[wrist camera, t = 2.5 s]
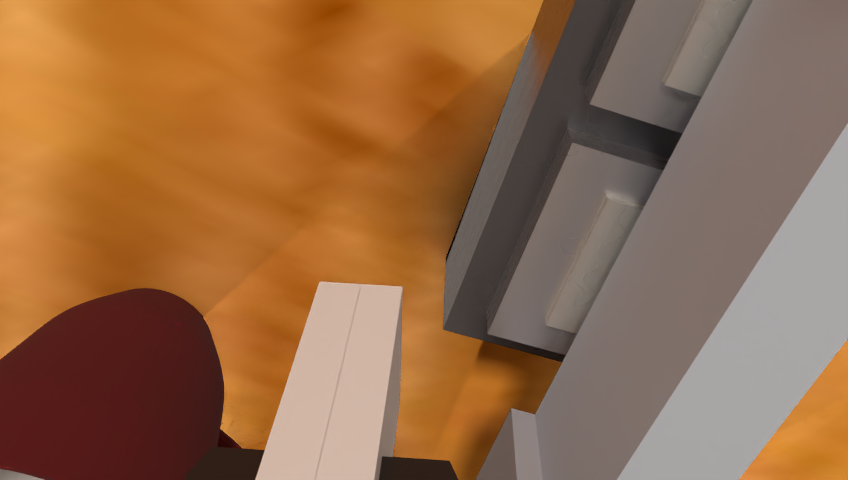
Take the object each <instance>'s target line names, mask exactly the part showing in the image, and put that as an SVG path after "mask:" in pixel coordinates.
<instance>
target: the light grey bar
mask: <svg viewBox="0 0 848 480" xmlns="http://www.w3.org/2000/svg"><path fill="white" fill-rule="evenodd" d="M847 339H848V0H753V1H752V3H751V5H750V7H749V9H748V11H747V13H746V15H745V16H744V18H743V20H742V22H741V24H740V26H739V28H738V30H737V32H736V34H735V35H734V37H733V39H732V41H731V43H730V45H729V47H728V49H727V51H726V53H725V54H724V56H723V58H722V60H721V62H720V64H719V66H718V68H717V70H716V72H715V73H714V75H713V77H712V79H711V81H710V83H709V85H708V87H707V89H706V91H705V92H704V94H703V96H702V98H701V100H700V102H699V104H698V106H697V108H696V110H695V111H694V113H693V115H692V117H691V119H690V121H689V123H688V125H687V127H686V129H685V130H684V132H683V134H682V136H681V138H680V140H679V142H678V144H677V146H676V148H675V149H674V151H673V153H672V155H671V157H670V159H669V161H668V163H667V165H666V167H665V168H664V170H663V172H662V174H661V176H660V178H659V180H658V182H657V184H656V186H655V187H654V189H653V191H652V193H651V195H650V197H649V199H648V201H647V203H646V205H645V206H644V208H643V210H642V212H641V214H640V216H639V218H638V220H637V222H636V224H635V225H634V227H633V229H632V231H631V233H630V235H629V237H628V239H627V241H626V243H625V244H624V246H623V248H622V250H621V252H620V254H619V256H618V258H617V260H616V262H615V263H614V265H613V267H612V269H611V271H610V273H609V275H608V277H607V279H606V281H605V282H604V284H603V286H602V288H601V290H600V292H599V294H598V296H597V298H596V300H595V301H594V303H593V305H592V307H591V309H590V311H589V313H588V315H587V317H586V319H585V320H584V322H583V324H582V326H581V328H580V330H579V332H578V334H577V336H576V338H575V339H574V341H573V343H572V345H571V347H570V349H569V351H568V353H567V355H566V357H565V358H564V360H563V362H562V364H561V366H560V368H559V370H558V372H557V374H556V376H555V377H554V379H553V381H552V383H551V385H550V387H549V389H548V391H547V393H546V395H545V396H544V398H543V400H542V402H541V404H540V406H539V408H538V410H537V412H536V414H532V413H528V412H524V411H520V410H517V409H513V408H511V410H510V412H509V414H508V416H507V418H506V420H505V422H504V424H503V426H502V428H501V430H500V432H499V434H498V436H497V438H496V440H495V442H494V444H493V446H492V448H491V450H490V452H489V454H488V456H487V458H486V460H485V462H484V464H483V466H482V468H481V470H480V472H479V474H478V476H477V478H476V480H739V479H740V477H741V476H742V475H743V473H744V472H745V471H746V469H747V468H748V467H749V466H750V464H751V463H752V462H753V460H754V459H755V458H756V457H757V455H758V454H759V453H760V451H761V450H762V449H763V448H764V446H765V445H766V444H767V442H768V441H769V440H770V439H771V437H772V436H773V435H774V433H775V432H776V431H777V429H778V428H779V427H780V426H781V424H782V423H783V422H784V420H785V419H786V418H787V417H788V415H789V414H790V413H791V411H792V410H793V409H794V408H795V406H796V405H797V404H798V402H799V401H800V400H801V398H802V397H803V396H804V395H805V393H806V392H807V391H808V389H809V388H810V387H811V386H812V384H813V383H814V382H815V380H816V379H817V378H818V377H819V375H820V374H821V373H822V371H823V370H824V369H825V367H826V366H827V365H828V364H829V362H830V361H831V360H832V358H833V357H834V356H835V355H836V353H837V352H838V351H839V349H840V348H841V347H842V346H843V344H844V343H845V342H846V340H847Z"/></svg>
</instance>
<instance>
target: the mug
mask: <svg viewBox="0 0 848 480" xmlns="http://www.w3.org/2000/svg"><path fill="white" fill-rule="evenodd" d="M223 404H224V381H223V374H222V369H221V365H220V361H219V357H218V354H217V351H216V348H215V345H214V341H213V338H212V335H211V332H210V330H209V327H208V325H207V323H206V321H205V320H204V319H203V317H202V316H201V314H200V313H199V312H198V311H197V310H196V309H195V308H194V307H193V306H192V305H191V304H189V303H188V302H186V301H185V300H184V299H182V298H180V297H178V296H176V295H174V294H171V293H169V292H165V291H162V290H157V289H147V288H143V289H132V290H128V291H124V292H120V293H116V294H112V295H108V296H104V297H100V298H97V299H94V300H91V301H88V302H85V303H82V304H80V305H77V306H75V307H73V308H70V309H68V310H66V311H65V312H63V313H61V314H59V315H58V316H56V317H55V318H53V319H52V320H50V321H49V322H47V323H46V324H45V325H43V326H42V327H41V328H40V329H38V330H37V331H36V332H34V333H33V334H32V335H31V336H29V337H28V338H27V339H26V340H24V341H23V342H22V343H21V344H19V345H18V346H17V347H16V348H14V349H13V350H12V351H11V352H9V353H8V354H7V355H6V356H4V357H3V358H2V359H0V480H185V477H186V475H187V473H188V472H189V471H190V470H191V469H192V468H193V467H194V466H195V465H196V464H197V462H198V461H199V460H200V459H201V458H202V457H203V456H204V455H205V454H206V453H207V452H208V451H209V450H210V449H211V448H212V447H225V448H240V449H242V448H241V447H240V446H239V445H238V444H237V443H236V442H235V441H234V440H233V439H232V438H230V437H229V436H228V435H227V434H225V433H224V432H223V431H222V430H220V426H221V419H222V413H223Z"/></svg>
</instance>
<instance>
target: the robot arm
mask: <svg viewBox="0 0 848 480" xmlns="http://www.w3.org/2000/svg"><path fill="white" fill-rule="evenodd" d="M402 291H403V287H400V286H383V285H367V284H350V283H334V282H319V285H318V288H317V291H316V294H315V297H314V301H313V304H312V307H311V310H310V313H309V316H308V319H307V322H306V325H305V328H304V331H303V334H302V337H301V341H300V344H299V347H298V350H297V353H296V356H295V359H294V362H293V365H292V368H291V371H290V374H289V377H288V381H287V384H286V387H285V390H284V393H283V396H282V399H281V402H280V405H279V408H278V411H277V414H276V417H275V421H274V424H273V427H272V430H271V433H270V436H269V439H268V442H267V445H266V448H265V450H254V449H240V448H225V447H212V448H211V449H210V450H209V451H208V452H207V453H206V454H205V455H204V456H203V457H202V458H201V459H200V460H199V461H198V462H197V464H196V465H195V466H194V467H193V468H192V469H191V470H190V471H189V472H188V473H187V475H186V477H185V480H458V478H457V476H456V474H455V472H454V470H453V468H452V465H451V463H450V461H444V460H429V459H415V458H400V457H393V453H394V445H395V437H396V428H397V420H398V412H399V404H400V376H401V333H402Z"/></svg>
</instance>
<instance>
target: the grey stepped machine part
mask: <svg viewBox="0 0 848 480" xmlns="http://www.w3.org/2000/svg"><path fill="white" fill-rule="evenodd" d="M752 1H753V0H544V1H543V4H542V6H541V9H540V12H539V14H538V17H537V20H536V22H535V25H534V27H533V30H532V33H531V35H530V38H529V41H528V43H527V46H526V48H525V51H524V54H523V56H522V59H521V62H520V64H519V67H518V69H517V72H516V75H515V77H514V80H513V83H512V85H511V88H510V90H509V93H508V96H507V98H506V101H505V104H504V106H503V109H502V111H501V114H500V117H499V119H498V122H497V125H496V127H495V130H494V132H493V135H492V138H491V140H490V143H489V146H488V148H487V151H486V153H485V156H484V159H483V161H482V164H481V167H480V169H479V172H478V174H477V177H476V180H475V182H474V185H473V188H472V190H471V193H470V195H469V198H468V201H467V203H466V206H465V209H464V211H463V214H462V217H461V219H460V222H459V224H458V227H457V230H456V232H455V235H454V238H453V240H452V243H451V245H450V248H449V251H448V253H447V256H446V268H445V293H444V317H443V330H447V331H450V332H454V333H458V334H461V335H465V336H469V337H472V338H476V339H480V340H483V341H487V342H491V343H494V344H498V345H501V346H505V347H509V348H512V349H516V350H520V351H523V352H527V353H531V354H534V355H538V356H542V357H545V358H549V359H553V360H556V361H560V362H563V360H564V358H565V357H566V355H567V353H568V351H569V349H570V347H571V345H572V343H573V341H574V339H575V338H576V336H577V334H578V332H579V330H580V328H581V326H582V324H583V322H584V320H585V319H586V317H587V315H588V313H589V311H590V309H591V307H592V305H593V303H594V301H595V300H596V298H597V296H598V294H599V292H600V290H601V288H602V286H603V284H604V282H605V281H606V279H607V277H608V275H609V273H610V271H611V269H612V267H613V265H614V263H615V262H616V260H617V258H618V256H619V254H620V252H621V250H622V248H623V246H624V244H625V243H626V241H627V239H628V237H629V235H630V233H631V231H632V229H633V227H634V225H635V224H636V222H637V220H638V218H639V216H640V214H641V212H642V210H643V208H644V206H645V205H646V203H647V201H648V199H649V197H650V195H651V193H652V191H653V189H654V187H655V186H656V184H657V182H658V180H659V178H660V176H661V174H662V172H663V170H664V168H665V167H666V165H667V163H668V161H669V159H670V157H671V155H672V153H673V151H674V149H675V148H676V146H677V144H678V142H679V140H680V138H681V136H682V134H683V132H684V130H685V129H686V127H687V125H688V123H689V121H690V119H691V117H692V115H693V113H694V111H695V110H696V108H697V106H698V104H699V102H700V100H701V98H702V96H703V94H704V92H705V91H706V89H707V87H708V85H709V83H710V81H711V79H712V77H713V75H714V73H715V72H716V70H717V68H718V66H719V64H720V62H721V60H722V58H723V56H724V54H725V53H726V51H727V49H728V47H729V45H730V43H731V41H732V39H733V37H734V35H735V34H736V32H737V30H738V28H739V26H740V24H741V22H742V20H743V18H744V16H745V15H746V13H747V11H748V9H749V7H750V5H751V3H752Z"/></svg>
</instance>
